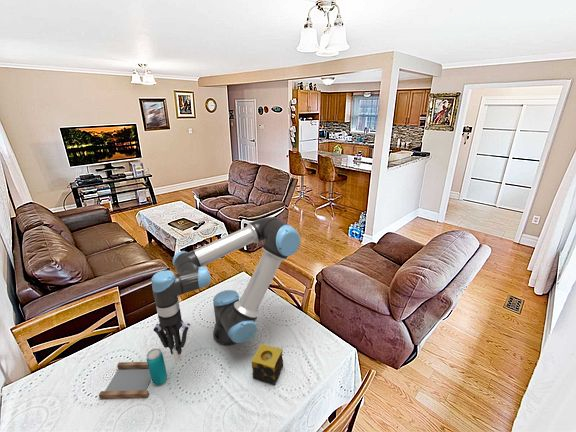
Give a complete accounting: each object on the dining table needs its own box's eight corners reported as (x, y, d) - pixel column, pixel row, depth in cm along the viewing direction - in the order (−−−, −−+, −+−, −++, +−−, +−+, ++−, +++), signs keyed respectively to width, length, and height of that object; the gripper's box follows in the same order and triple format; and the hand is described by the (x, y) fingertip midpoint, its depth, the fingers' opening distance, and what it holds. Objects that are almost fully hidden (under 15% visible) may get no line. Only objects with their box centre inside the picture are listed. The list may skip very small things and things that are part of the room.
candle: (283, 365, 122) (283, 348, 118) (275, 386, 113) (274, 368, 109) (262, 359, 125) (261, 342, 121) (252, 378, 116) (251, 361, 113)
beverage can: (166, 372, 119) (160, 345, 113) (169, 382, 114) (163, 355, 109) (151, 379, 116) (144, 351, 111) (153, 390, 112) (146, 362, 106)
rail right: (162, 365, 122) (161, 361, 121) (160, 368, 121) (159, 364, 120) (120, 366, 122) (118, 362, 121) (118, 369, 120) (116, 365, 119)
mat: (155, 369, 120) (155, 368, 120) (144, 394, 110) (144, 393, 110) (117, 370, 120) (117, 369, 120) (102, 395, 110) (102, 394, 110)
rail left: (149, 394, 110) (148, 390, 109) (147, 398, 108) (146, 393, 108) (102, 395, 109) (100, 391, 109) (100, 399, 108) (98, 394, 107)
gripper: (190, 304, 106) (197, 351, 115) (155, 304, 106) (164, 351, 114) (183, 318, 99) (191, 367, 108) (146, 318, 99) (157, 367, 107)
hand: (177, 359), depth 111 cm, fingers closed
